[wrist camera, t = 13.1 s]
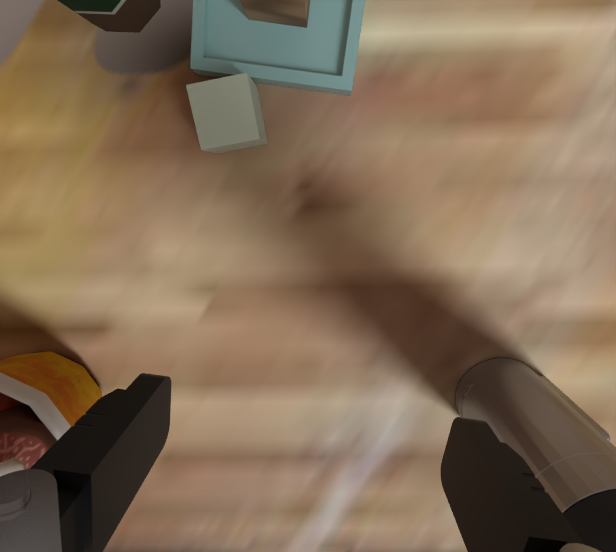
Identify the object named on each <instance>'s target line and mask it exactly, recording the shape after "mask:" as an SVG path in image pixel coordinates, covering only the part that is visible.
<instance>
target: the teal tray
mask: <svg viewBox="0 0 616 552" xmlns="http://www.w3.org/2000/svg"><path fill="white" fill-rule="evenodd" d="M364 5H365V0H310V8H309V17H308V25H307V28H304V27H297V26H290V25H283V24H276V23H268V22H261V21H254V20H249V19H248V17H247V15H246V13H245V11H244V9H243V6H242V4H241V2H240V0H193V16H192V17H193V18H192V38H191V61H190V69H191V70H193V71H194V72H195V73H196V74H198V75H204V76H211V77H218V78H223V77H227V76H232V75H237V74H242V73H247V74H248V75H249V76H250V78H251V79H252V80H253V82H255V83H262V84H269V85H277V86H284V87H291V88H298V89H306V90H313V91H320V92H327V93H335V94H342V95H349V96H350V94H351V91H352V85H353V79H354V72H355V65H356V58H357V52H358V45H359V38H360V32H361V25H362V18H363V12H364Z"/></svg>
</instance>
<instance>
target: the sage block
mask: <svg viewBox="0 0 616 552" xmlns="http://www.w3.org/2000/svg"><path fill="white" fill-rule="evenodd" d="M186 88H187V92H188V97H189V101H190V105H191V109H192V114H193V118H194V122H195V126H196V131H197V135H198V139H199V143H200V148H201V150H203V151H208V152H212V153H222V152H228V151H233V150H238V149H244V148H249V147H254V146H260V145H265V144H268V141H267V136H266V131H265V125H264V120H263V115H262V110H261V104H260V99H259V94H258V89H257V86H256V85H255V83H254V82H253V80H252V79H251V78H250V76H249V75H248V74H247V73H242V74H237V75H232V76H227V77H223V78H218V79H213V80H208V81H203V82H198V83H193V84H188V85H186Z"/></svg>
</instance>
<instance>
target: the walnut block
mask: <svg viewBox="0 0 616 552" xmlns="http://www.w3.org/2000/svg"><path fill="white" fill-rule="evenodd" d="M240 2H241V4H242V6H243V9H244V11H245V13H246V15H247V17H248V19H249V20H254V21H261V22H268V23H276V24H283V25H290V26H297V27H304V28H307V25H308V17H309V8H310V0H240Z"/></svg>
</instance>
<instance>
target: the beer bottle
mask: <svg viewBox="0 0 616 552" xmlns="http://www.w3.org/2000/svg"><path fill="white" fill-rule="evenodd" d="M58 1H59V2H61V3H62V4H64V5H65V6H67V7H68V8H70V9H71V10H73V11H74V12H76V13H78V14H79V15H81V16H82V17H84V18H85V19H87V20H88V21H90V22H91V23H93V24H94V25H96V26H98V27H100V28H101V29H103V30H105V31H112V32H140V31H141V30H142V29H143V28H144V26H145V25H146V24H147V23H148V22H149V20H150V19H151V18H152V17H153V16H154V15H155V13H156V12H157V11H158V10H159V8H160V0H58Z"/></svg>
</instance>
